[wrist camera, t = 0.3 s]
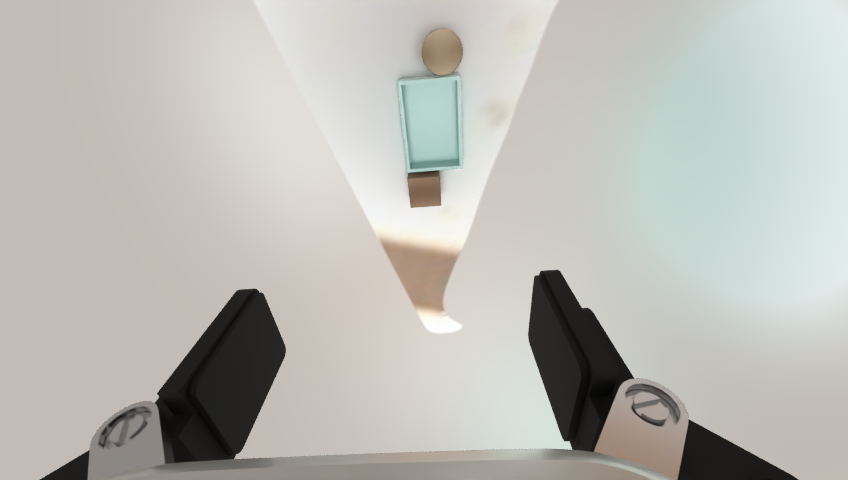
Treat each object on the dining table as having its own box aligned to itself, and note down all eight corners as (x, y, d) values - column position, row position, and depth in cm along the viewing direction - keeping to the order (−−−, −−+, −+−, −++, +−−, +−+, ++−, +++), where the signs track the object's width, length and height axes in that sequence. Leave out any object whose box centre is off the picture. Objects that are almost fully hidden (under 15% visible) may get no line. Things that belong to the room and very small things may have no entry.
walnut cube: (408, 168, 45) (407, 178, 42) (438, 165, 45) (439, 176, 42) (411, 195, 47) (410, 207, 44) (440, 193, 47) (441, 205, 44)
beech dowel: (421, 31, 37) (420, 30, 32) (457, 27, 37) (462, 26, 31) (424, 71, 39) (423, 77, 34) (458, 68, 39) (463, 73, 34)
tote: (399, 78, 39) (397, 81, 37) (458, 73, 39) (460, 75, 36) (408, 164, 45) (407, 172, 42) (460, 160, 44) (462, 168, 42)
